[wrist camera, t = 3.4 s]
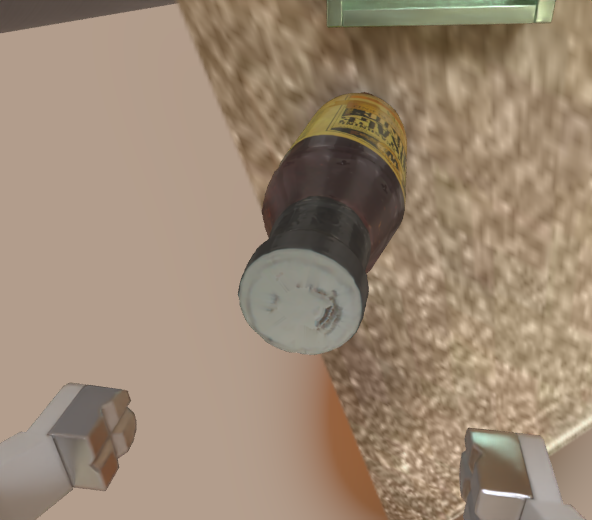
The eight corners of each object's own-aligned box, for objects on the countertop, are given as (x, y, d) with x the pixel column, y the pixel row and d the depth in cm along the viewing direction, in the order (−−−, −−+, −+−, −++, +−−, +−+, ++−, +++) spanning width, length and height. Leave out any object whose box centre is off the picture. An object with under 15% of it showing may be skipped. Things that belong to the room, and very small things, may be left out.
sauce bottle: (425, 147, 32) (456, 349, 15) (346, 198, 35) (297, 417, 18) (366, 60, 30) (328, 181, 13) (287, 122, 33) (171, 287, 16)
